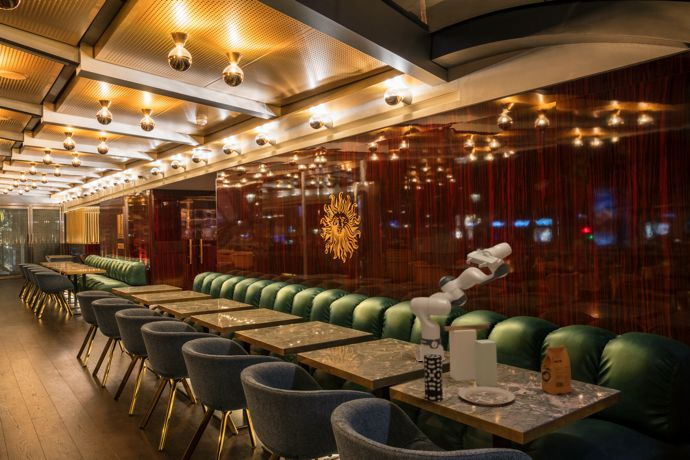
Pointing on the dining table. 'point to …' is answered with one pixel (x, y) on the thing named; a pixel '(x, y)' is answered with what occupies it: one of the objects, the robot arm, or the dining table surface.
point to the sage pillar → (485, 363)
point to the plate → (469, 390)
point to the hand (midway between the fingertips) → (473, 264)
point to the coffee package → (556, 371)
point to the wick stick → (466, 327)
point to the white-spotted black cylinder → (433, 377)
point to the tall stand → (462, 354)
